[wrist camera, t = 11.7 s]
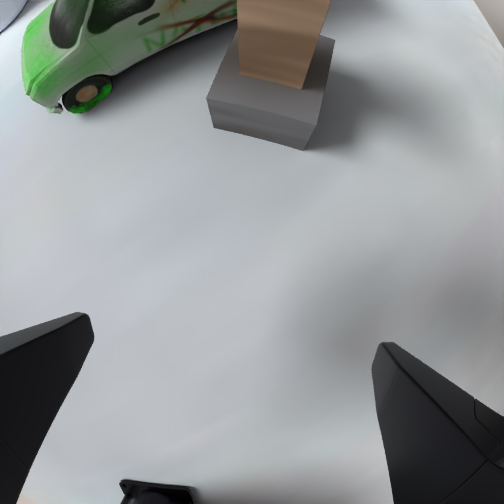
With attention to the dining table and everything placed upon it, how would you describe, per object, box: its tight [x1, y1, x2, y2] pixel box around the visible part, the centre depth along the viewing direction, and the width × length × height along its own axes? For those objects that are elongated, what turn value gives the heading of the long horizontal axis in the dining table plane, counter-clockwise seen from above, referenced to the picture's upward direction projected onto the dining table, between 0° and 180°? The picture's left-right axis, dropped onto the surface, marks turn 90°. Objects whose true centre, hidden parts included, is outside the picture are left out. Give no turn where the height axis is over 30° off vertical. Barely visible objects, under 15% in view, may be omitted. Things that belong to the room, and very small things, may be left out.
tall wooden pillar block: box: [206, 0, 335, 151], centre depth 11 cm, size 7×6×13 cm
